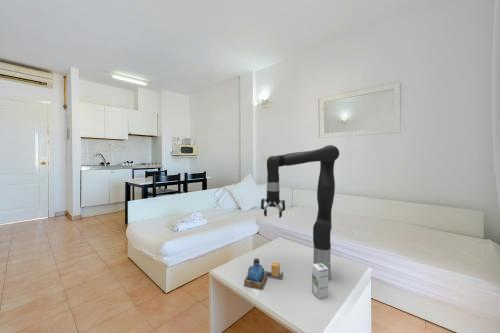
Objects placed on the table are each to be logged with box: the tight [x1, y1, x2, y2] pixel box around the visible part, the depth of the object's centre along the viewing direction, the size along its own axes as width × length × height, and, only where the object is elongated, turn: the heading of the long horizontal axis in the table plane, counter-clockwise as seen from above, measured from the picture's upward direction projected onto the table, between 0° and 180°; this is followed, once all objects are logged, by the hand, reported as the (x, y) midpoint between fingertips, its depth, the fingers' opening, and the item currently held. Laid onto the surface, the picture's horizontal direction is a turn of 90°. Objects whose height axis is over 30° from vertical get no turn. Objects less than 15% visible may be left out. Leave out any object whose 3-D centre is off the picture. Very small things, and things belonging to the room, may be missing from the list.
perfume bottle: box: [249, 258, 265, 283], centre depth 113 cm, size 6×6×12 cm
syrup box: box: [311, 263, 329, 299], centre depth 104 cm, size 6×6×14 cm
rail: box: [247, 265, 284, 281], centre depth 121 cm, size 20×4×2 cm, turn 72°
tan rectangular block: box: [265, 261, 281, 277], centre depth 120 cm, size 8×4×6 cm, turn 72°
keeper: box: [243, 273, 268, 291], centre depth 113 cm, size 10×10×3 cm
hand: (272, 216), depth 124 cm, fingers open, 8 cm apart
